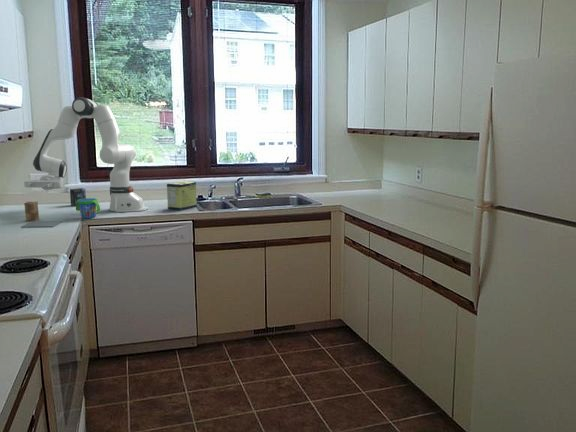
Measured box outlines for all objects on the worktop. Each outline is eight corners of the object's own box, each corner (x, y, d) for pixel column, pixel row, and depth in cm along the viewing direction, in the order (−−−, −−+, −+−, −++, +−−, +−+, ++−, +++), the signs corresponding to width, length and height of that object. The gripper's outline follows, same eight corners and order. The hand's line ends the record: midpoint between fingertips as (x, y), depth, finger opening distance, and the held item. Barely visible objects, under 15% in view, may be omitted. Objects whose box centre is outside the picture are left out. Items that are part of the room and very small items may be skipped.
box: (74, 206, 350) (73, 189, 348) (70, 205, 354) (69, 189, 352) (86, 205, 355) (85, 188, 353) (82, 204, 359) (81, 187, 357)
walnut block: (39, 219, 309) (37, 201, 307) (35, 221, 304) (33, 203, 302) (29, 219, 309) (28, 201, 307) (26, 221, 304) (24, 203, 302)
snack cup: (71, 217, 313) (69, 199, 312) (86, 214, 322) (85, 197, 321) (90, 220, 306) (89, 202, 304) (105, 217, 315) (104, 199, 313)
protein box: (197, 206, 348) (196, 181, 346) (180, 210, 335) (179, 184, 332) (184, 205, 354) (183, 180, 351) (167, 209, 340) (166, 183, 337)
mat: (62, 221, 302) (62, 220, 302) (53, 227, 288) (53, 226, 288) (32, 222, 301) (32, 221, 301) (21, 227, 288) (21, 226, 287)
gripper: (29, 176, 328) (18, 179, 314) (64, 177, 328) (56, 180, 315) (29, 187, 329) (19, 191, 315) (65, 187, 329) (56, 191, 316)
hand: (38, 185), depth 315 cm, fingers open, 8 cm apart
